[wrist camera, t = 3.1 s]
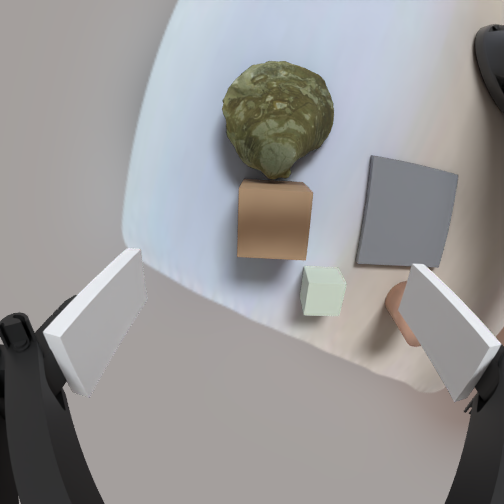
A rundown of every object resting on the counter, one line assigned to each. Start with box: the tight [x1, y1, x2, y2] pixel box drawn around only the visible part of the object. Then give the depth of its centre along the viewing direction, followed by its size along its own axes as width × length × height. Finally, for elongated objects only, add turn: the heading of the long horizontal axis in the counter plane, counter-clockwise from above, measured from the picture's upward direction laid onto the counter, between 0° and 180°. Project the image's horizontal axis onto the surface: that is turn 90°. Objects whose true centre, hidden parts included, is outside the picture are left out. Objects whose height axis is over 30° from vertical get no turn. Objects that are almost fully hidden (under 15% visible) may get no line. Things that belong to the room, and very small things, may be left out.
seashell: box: [222, 61, 334, 180], centre depth 23 cm, size 10×7×10 cm
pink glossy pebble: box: [385, 281, 421, 347], centre depth 29 cm, size 5×5×7 cm
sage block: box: [300, 266, 347, 316], centre depth 30 cm, size 4×4×4 cm
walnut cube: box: [237, 179, 313, 260], centre depth 26 cm, size 6×6×6 cm
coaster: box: [356, 155, 458, 267], centre depth 27 cm, size 12×12×1 cm
